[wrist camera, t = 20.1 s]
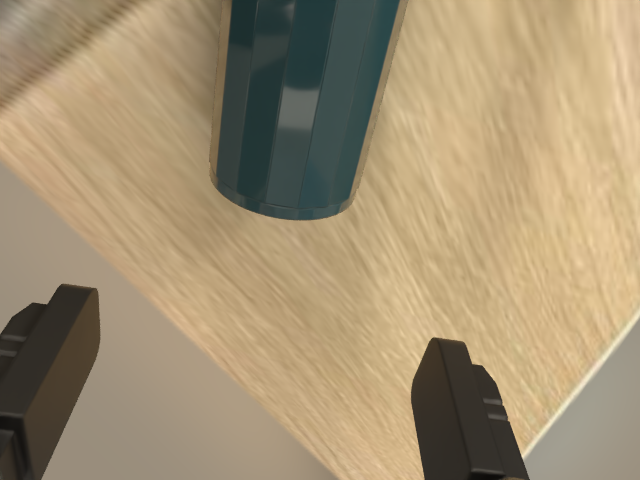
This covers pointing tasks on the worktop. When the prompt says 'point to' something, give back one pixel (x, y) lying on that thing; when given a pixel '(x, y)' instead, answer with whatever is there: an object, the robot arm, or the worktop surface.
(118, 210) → the worktop surface
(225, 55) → the cup
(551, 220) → the worktop surface
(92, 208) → the worktop surface
